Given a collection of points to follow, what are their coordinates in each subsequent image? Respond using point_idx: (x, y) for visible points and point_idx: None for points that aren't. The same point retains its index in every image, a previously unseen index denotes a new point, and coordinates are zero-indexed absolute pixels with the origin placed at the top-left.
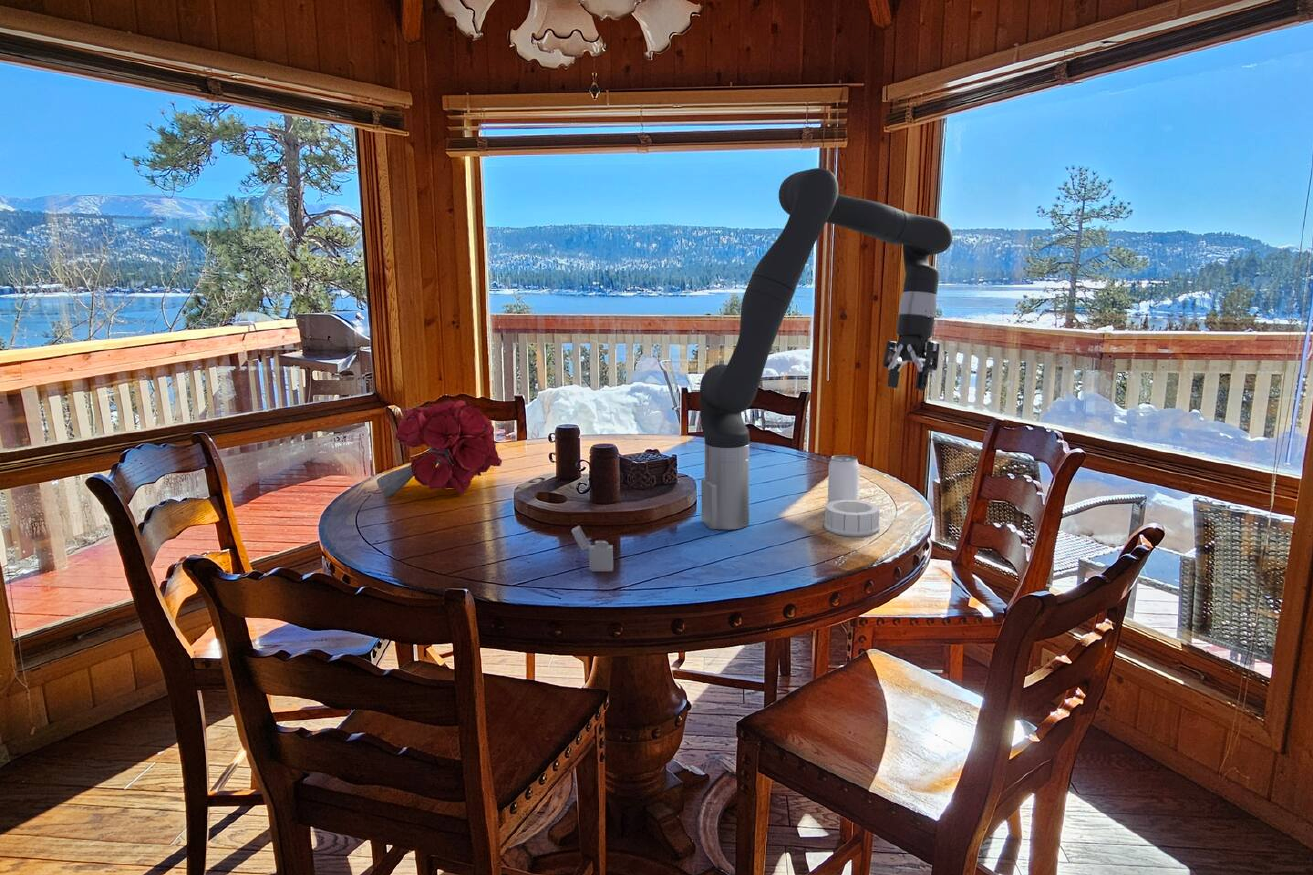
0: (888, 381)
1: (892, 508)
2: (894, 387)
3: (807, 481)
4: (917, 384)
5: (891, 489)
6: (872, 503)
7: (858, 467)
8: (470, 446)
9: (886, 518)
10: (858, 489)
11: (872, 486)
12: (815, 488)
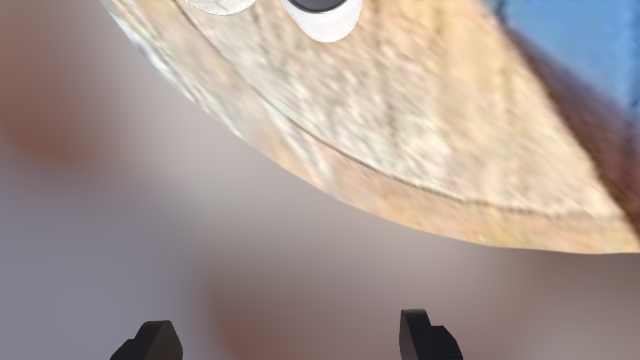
0: (451, 346)
1: (304, 120)
2: (400, 332)
3: (574, 74)
4: (131, 345)
5: (413, 202)
6: (211, 2)
7: (284, 6)
8: None
9: (253, 67)
10: (299, 25)
11: (452, 183)
12: (511, 56)
